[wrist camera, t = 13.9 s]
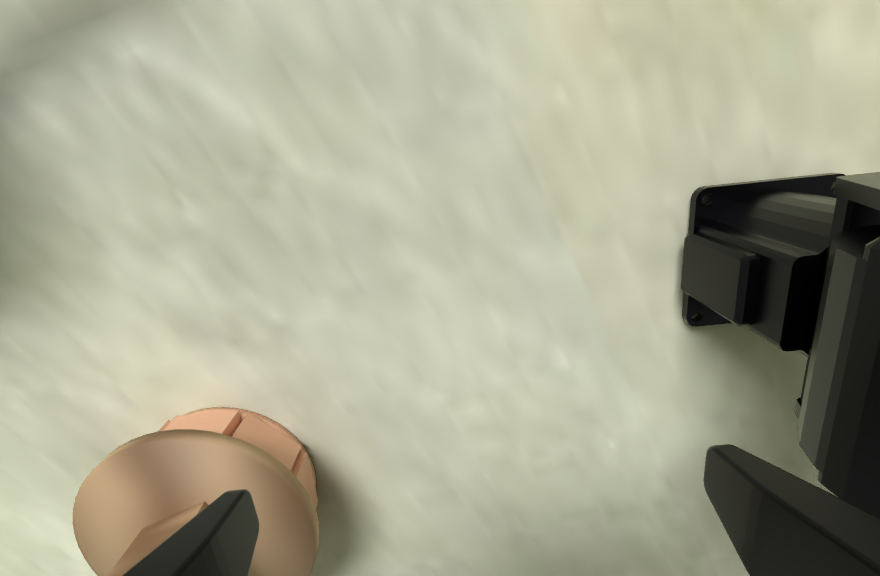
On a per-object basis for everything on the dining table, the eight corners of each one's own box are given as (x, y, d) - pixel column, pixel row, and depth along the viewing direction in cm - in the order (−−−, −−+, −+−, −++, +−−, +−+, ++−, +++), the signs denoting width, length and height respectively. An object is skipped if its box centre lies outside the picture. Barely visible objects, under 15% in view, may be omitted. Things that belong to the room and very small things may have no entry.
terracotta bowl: (298, 399, 23) (277, 439, 20) (329, 533, 26) (315, 586, 23) (126, 415, 23) (80, 457, 20) (176, 547, 26) (143, 601, 23)
